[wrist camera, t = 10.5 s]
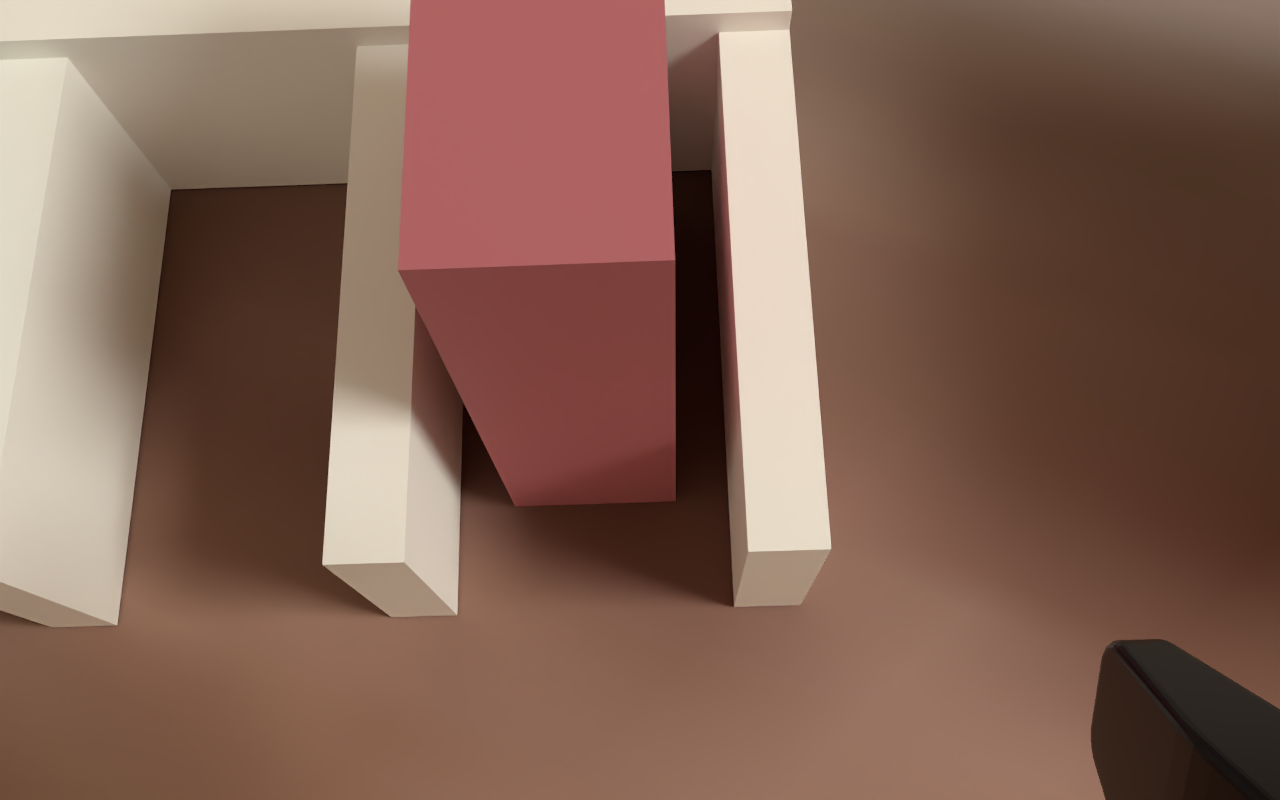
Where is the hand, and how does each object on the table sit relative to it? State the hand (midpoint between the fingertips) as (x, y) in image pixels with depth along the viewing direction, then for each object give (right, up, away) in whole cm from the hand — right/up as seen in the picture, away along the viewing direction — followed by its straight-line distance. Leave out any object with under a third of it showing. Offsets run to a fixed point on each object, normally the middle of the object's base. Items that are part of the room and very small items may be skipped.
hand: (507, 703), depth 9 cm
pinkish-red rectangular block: (0, +3, +14) cm, 15 cm away
